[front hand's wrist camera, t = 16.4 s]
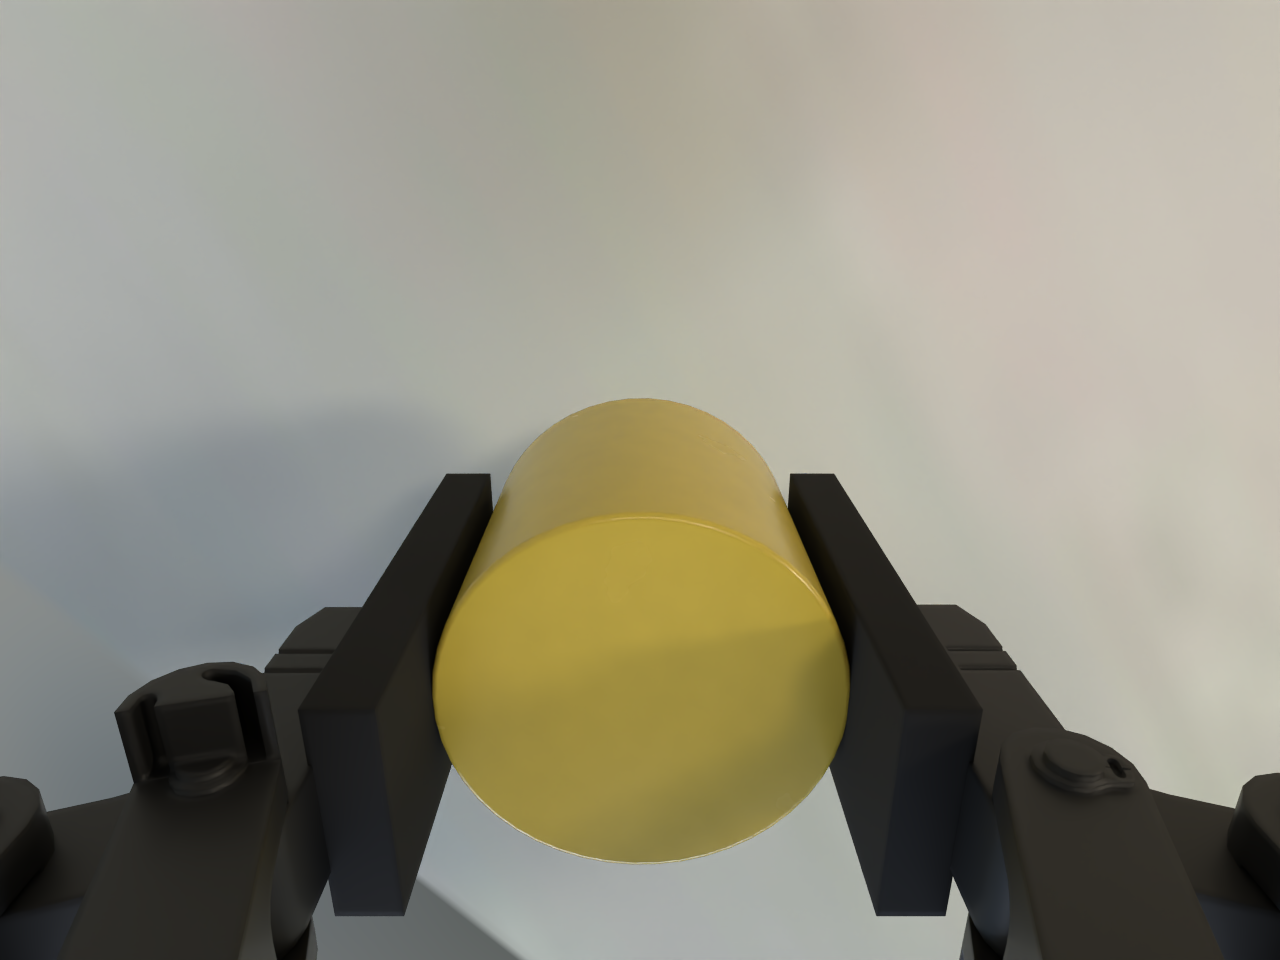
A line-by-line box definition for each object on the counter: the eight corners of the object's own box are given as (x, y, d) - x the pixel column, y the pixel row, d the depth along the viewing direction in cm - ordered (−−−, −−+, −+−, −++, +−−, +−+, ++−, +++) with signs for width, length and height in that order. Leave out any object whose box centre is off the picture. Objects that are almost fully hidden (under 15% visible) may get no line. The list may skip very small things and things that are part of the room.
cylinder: (515, 372, 14) (451, 478, 9) (817, 425, 14) (907, 555, 9) (481, 636, 15) (413, 837, 11) (748, 678, 16) (794, 891, 11)
